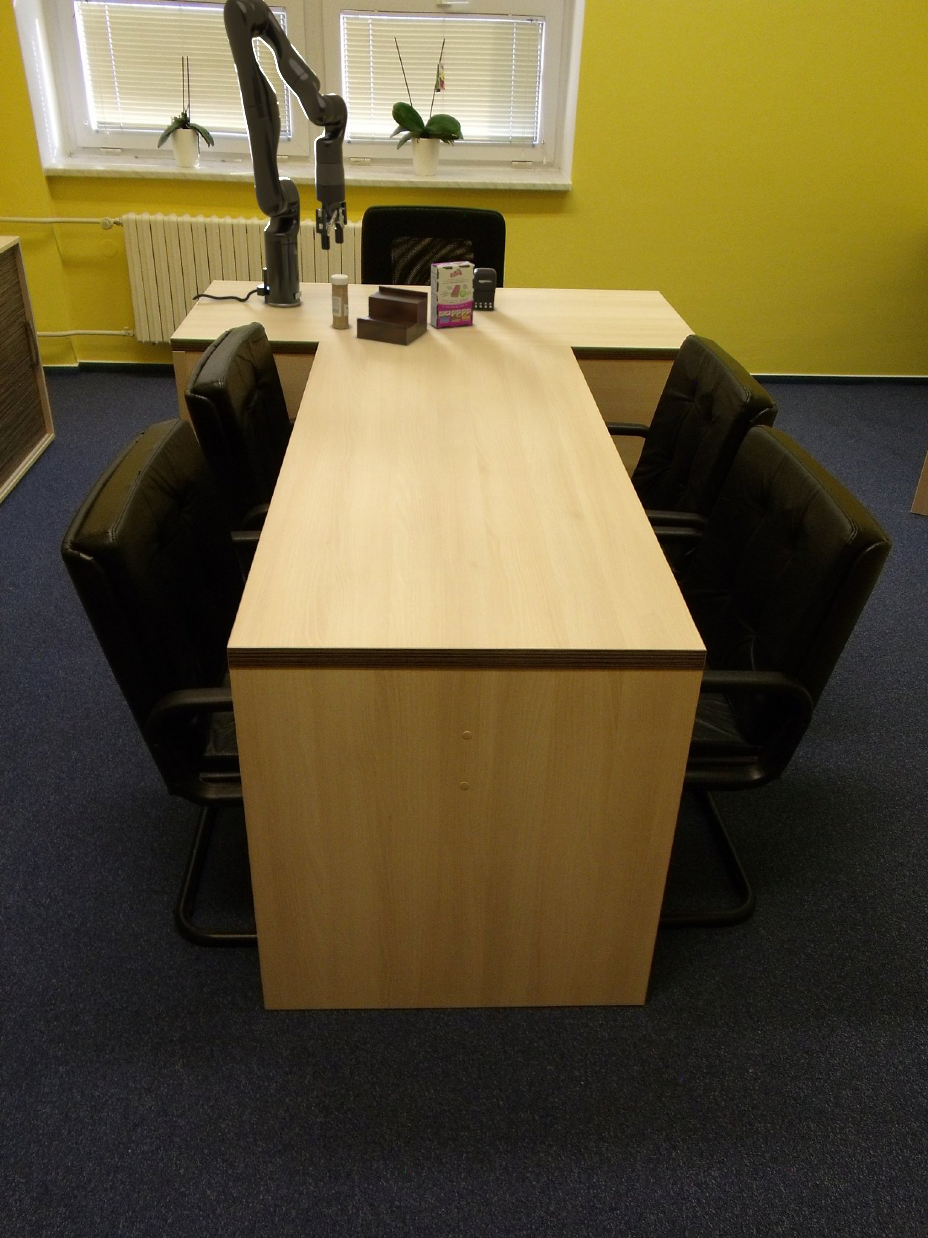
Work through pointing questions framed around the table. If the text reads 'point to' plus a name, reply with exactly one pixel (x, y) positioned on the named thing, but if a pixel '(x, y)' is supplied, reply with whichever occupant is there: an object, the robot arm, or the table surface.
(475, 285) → the black battery charger
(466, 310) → the candy bar box
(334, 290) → the sprinkles bottle
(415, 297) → the shelf
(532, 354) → the table surface
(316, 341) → the table surface
